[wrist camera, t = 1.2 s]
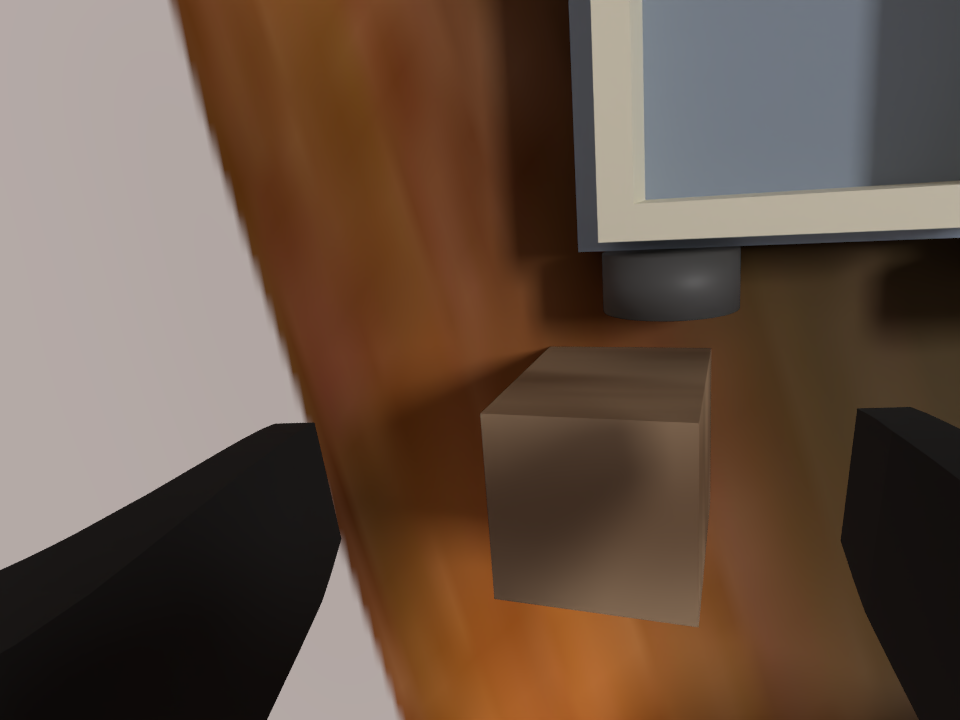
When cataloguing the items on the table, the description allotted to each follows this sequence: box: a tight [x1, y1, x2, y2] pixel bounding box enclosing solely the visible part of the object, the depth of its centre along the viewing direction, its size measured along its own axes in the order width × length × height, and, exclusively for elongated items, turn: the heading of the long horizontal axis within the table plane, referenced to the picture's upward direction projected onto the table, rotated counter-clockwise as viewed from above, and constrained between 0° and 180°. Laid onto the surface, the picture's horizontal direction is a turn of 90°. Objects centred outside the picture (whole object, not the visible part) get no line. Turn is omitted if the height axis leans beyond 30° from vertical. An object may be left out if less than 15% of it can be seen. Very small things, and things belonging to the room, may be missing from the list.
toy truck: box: [569, 0, 960, 321], centre depth 14 cm, size 12×13×3 cm
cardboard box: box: [480, 347, 711, 627], centre depth 17 cm, size 4×4×6 cm
